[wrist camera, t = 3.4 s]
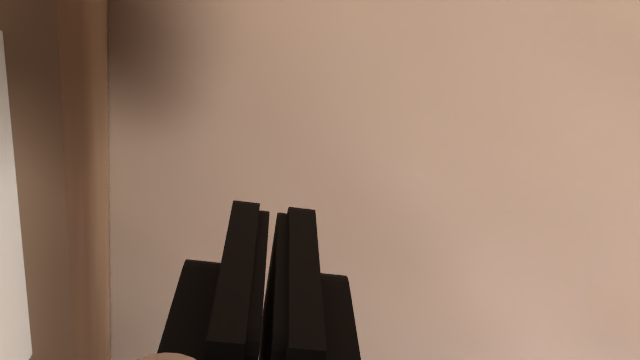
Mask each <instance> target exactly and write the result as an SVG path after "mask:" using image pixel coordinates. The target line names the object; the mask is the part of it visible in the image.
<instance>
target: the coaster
mask: <svg viewBox="0 0 640 360" xmlns="http://www.w3.org/2000/svg"><path fill="white" fill-rule="evenodd" d="M31 355H32V345H31V334H30V324H29V313H28V302H27V291H26V280H25V269H24V259H23V248H22V237H21V226H20V215H19V204H18V194H17V183H16V172H15V161H14V150H13V140H12V129H11V118H10V107H9V96H8V85H7V75H6V64H5V53H4V42H3V31H2V30H0V360H29V359H30V357H31Z"/></svg>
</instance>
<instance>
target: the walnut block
mask: <svg viewBox="0 0 640 360" xmlns="http://www.w3.org/2000/svg"><path fill="white" fill-rule="evenodd" d="M0 30H2V31H3V42H4V53H5V64H6V75H7V85H8V96H9V107H10V118H11V129H12V140H13V150H14V161H15V172H16V183H17V194H18V204H19V215H20V226H21V237H22V248H23V259H24V269H25V280H26V291H27V302H28V313H29V324H30V334H31V345H32V355H31V357H30V359H29V360H110V359H111V344H110V240H109V135H108V31H107V0H0Z"/></svg>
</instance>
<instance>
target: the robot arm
mask: <svg viewBox="0 0 640 360" xmlns="http://www.w3.org/2000/svg"><path fill="white" fill-rule="evenodd" d="M259 207H260V204H259V203H251V202H242V201H233V205H232V210H231V215H230V220H229V225H228V231H227V236H226V241H225V246H224V251H223V256H222V261H221V263H216V262H207V261H197V260H187V259H186V260H185V262H184V265H183V268H182V272H181V275H180V278H179V282H178V285H177V288H176V292H175V295H174V299H173V302H172V305H171V309H170V312H169V315H168V319H167V322H166V325H165V329H164V332H163V335H162V339H161V342H160V345H159V349H158V352H157V354H152V355H148V356H146V357H143V358H140V359H138V360H258V357H259V360H361V357H360V351H359V344H358V338H357V332H356V325H355V319H354V312H353V306H352V299H351V293H350V287H349V281H348V277H347V276H343V275H333V274H323V273H320V262H319V250H318V238H317V226H316V213H315V210H311V209H302V208H294V207H289V208H288V212H287V214H285V213H278V214H277V219H276V226H275V233H274V240H273V247H272V253H271V260H270V267H269V274H268V281H267V288H266V295H265V301H264V308H263V298H264V284H265V269H266V255H267V240H268V226H269V212H268V211H259ZM262 313H263V315H262Z"/></svg>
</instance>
